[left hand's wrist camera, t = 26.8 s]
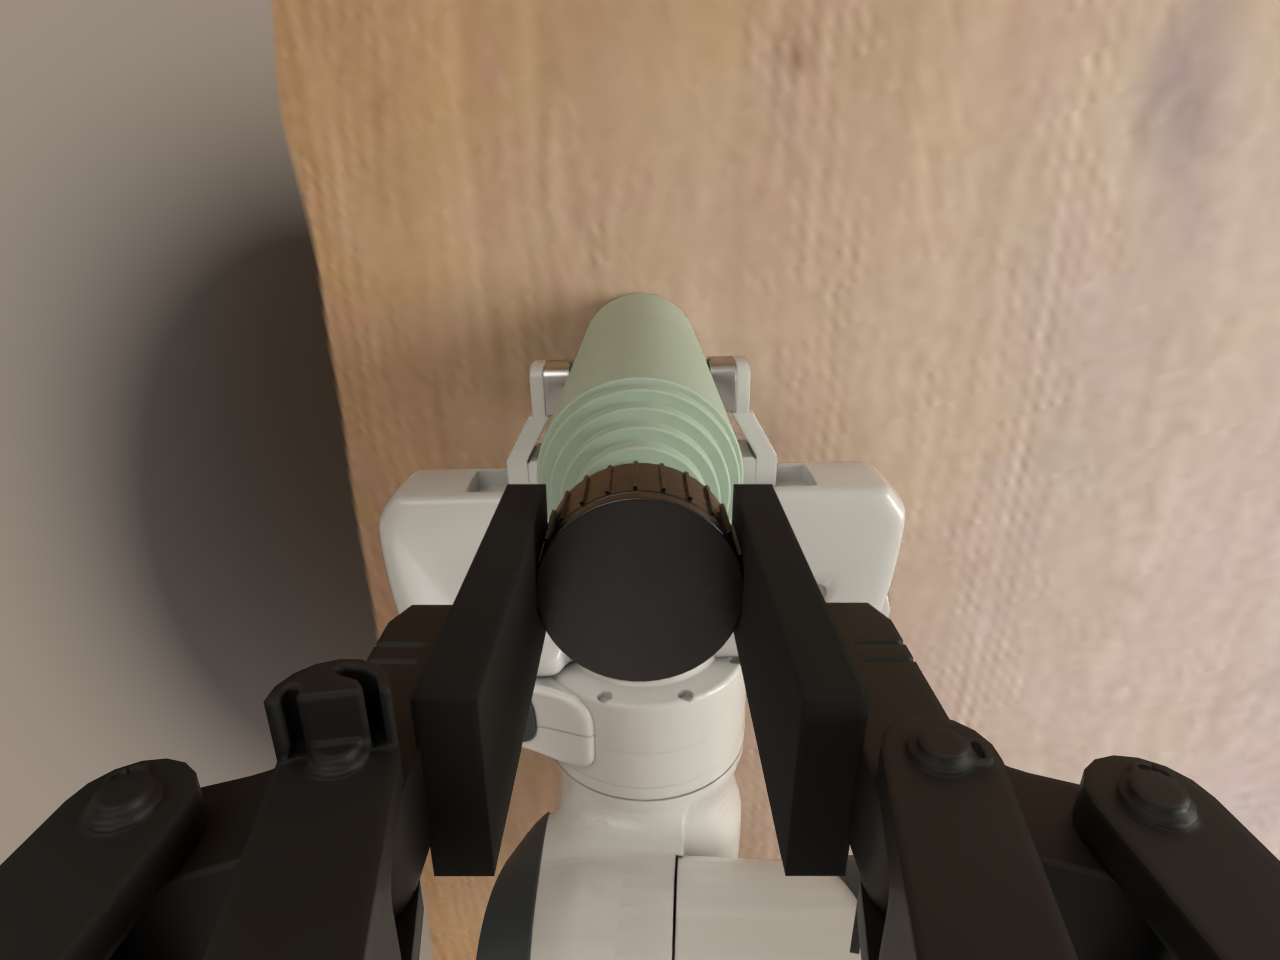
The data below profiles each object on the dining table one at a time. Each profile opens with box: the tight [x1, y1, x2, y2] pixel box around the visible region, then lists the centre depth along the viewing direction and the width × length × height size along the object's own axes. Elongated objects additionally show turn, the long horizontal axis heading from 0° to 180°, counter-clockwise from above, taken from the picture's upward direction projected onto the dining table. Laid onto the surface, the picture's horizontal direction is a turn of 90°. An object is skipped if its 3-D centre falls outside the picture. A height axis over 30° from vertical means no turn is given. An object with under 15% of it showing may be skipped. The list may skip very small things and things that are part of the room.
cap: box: [536, 461, 744, 682], centre depth 14 cm, size 4×4×2 cm
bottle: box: [536, 293, 744, 522], centre depth 23 cm, size 5×5×21 cm
